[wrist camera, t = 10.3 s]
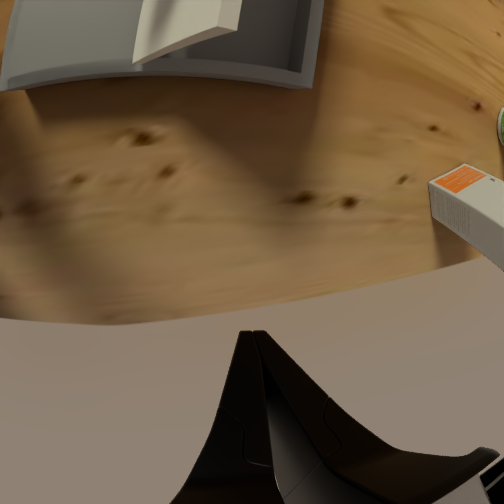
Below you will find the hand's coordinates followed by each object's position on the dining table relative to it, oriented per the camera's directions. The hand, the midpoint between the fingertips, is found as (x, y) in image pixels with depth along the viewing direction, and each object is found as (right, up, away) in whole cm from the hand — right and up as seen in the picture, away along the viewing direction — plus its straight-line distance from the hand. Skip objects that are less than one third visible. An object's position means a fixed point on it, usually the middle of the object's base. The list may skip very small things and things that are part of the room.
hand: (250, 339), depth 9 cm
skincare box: (+20, +9, +15) cm, 27 cm away
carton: (-6, +22, +2) cm, 23 cm away
